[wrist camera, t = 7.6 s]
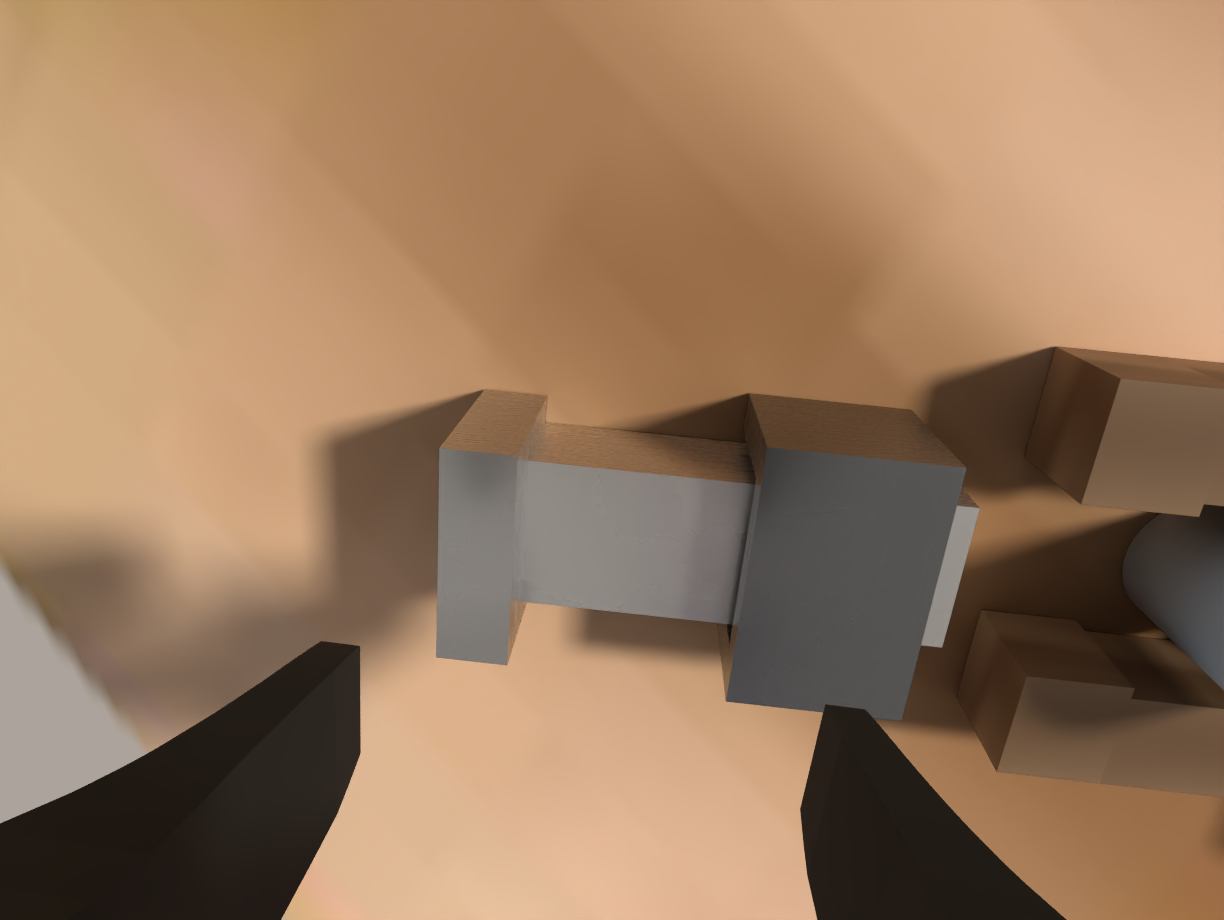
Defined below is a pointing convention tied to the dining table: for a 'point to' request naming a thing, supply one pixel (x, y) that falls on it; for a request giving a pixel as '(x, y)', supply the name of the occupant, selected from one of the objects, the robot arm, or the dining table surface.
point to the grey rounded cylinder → (1182, 582)
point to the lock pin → (600, 526)
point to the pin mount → (837, 555)
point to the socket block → (1099, 662)
